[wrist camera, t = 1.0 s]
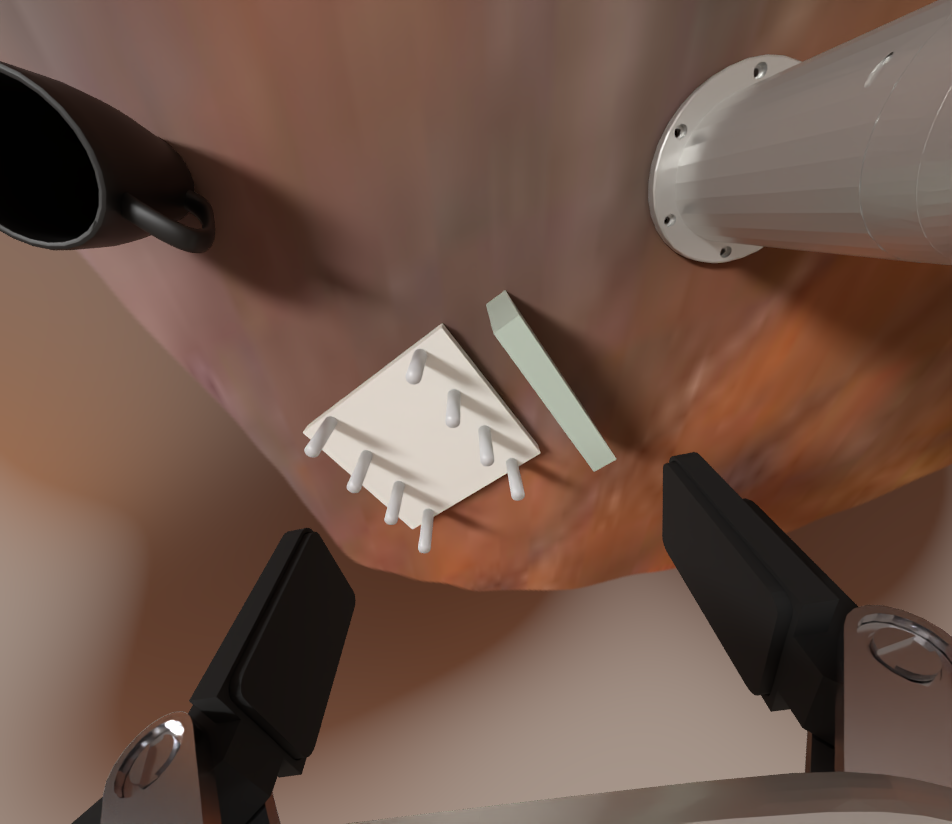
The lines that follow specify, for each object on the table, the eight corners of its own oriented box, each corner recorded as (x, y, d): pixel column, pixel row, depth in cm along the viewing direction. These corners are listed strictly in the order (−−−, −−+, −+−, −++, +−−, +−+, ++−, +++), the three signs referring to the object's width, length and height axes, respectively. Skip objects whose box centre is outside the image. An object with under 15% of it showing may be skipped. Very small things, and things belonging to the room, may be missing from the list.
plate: (486, 304, 32) (493, 333, 24) (505, 290, 32) (519, 315, 24) (566, 417, 38) (593, 471, 30) (583, 406, 37) (616, 459, 29)
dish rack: (442, 322, 33) (437, 345, 27) (538, 445, 39) (551, 484, 33) (308, 424, 37) (279, 463, 31) (414, 519, 43) (406, 566, 37)
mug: (248, 287, 31) (167, 314, 22) (83, 200, 28) (-83, 193, 19) (279, 188, 28) (198, 176, 19) (97, 77, 24) (-95, 4, 16)
